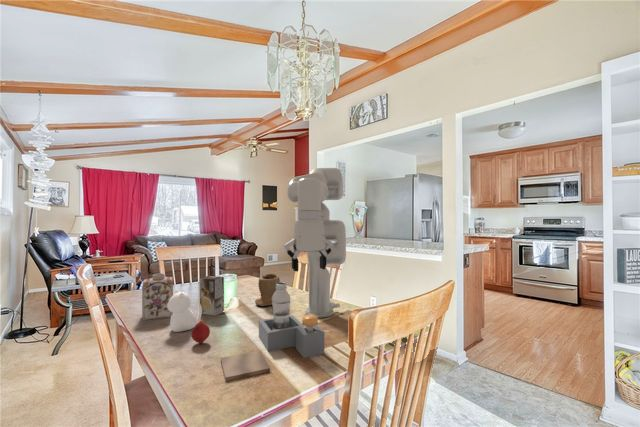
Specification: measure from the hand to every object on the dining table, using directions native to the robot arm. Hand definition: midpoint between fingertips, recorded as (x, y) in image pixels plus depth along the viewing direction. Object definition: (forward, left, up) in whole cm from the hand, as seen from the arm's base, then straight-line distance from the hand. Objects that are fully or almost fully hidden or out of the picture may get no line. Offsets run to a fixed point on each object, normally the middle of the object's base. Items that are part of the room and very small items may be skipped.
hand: (309, 269), depth 96 cm
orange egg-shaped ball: (0, 0, -21) cm, 21 cm away
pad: (+21, +1, -26) cm, 34 cm away
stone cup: (-2, -56, -27) cm, 62 cm away
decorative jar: (+48, -61, -27) cm, 82 cm away
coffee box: (+26, -54, -27) cm, 65 cm away
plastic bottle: (+6, -12, -27) cm, 30 cm away
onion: (+32, -21, -27) cm, 46 cm away
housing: (+4, -7, -26) cm, 28 cm away
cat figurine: (+37, -38, -27) cm, 59 cm away
